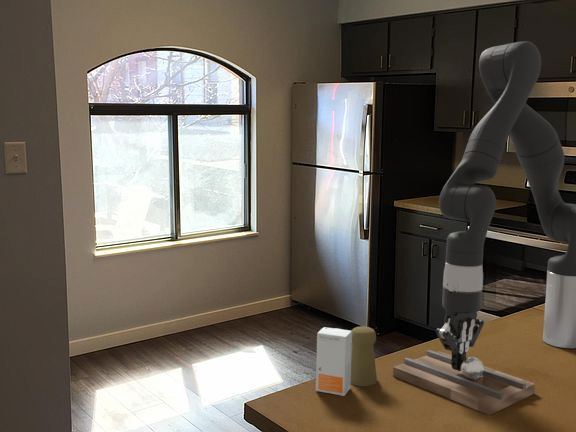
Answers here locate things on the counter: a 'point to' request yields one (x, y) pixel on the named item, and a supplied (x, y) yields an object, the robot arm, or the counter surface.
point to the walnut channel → (464, 383)
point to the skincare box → (333, 361)
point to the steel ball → (472, 368)
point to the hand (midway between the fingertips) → (458, 369)
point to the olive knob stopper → (363, 357)
